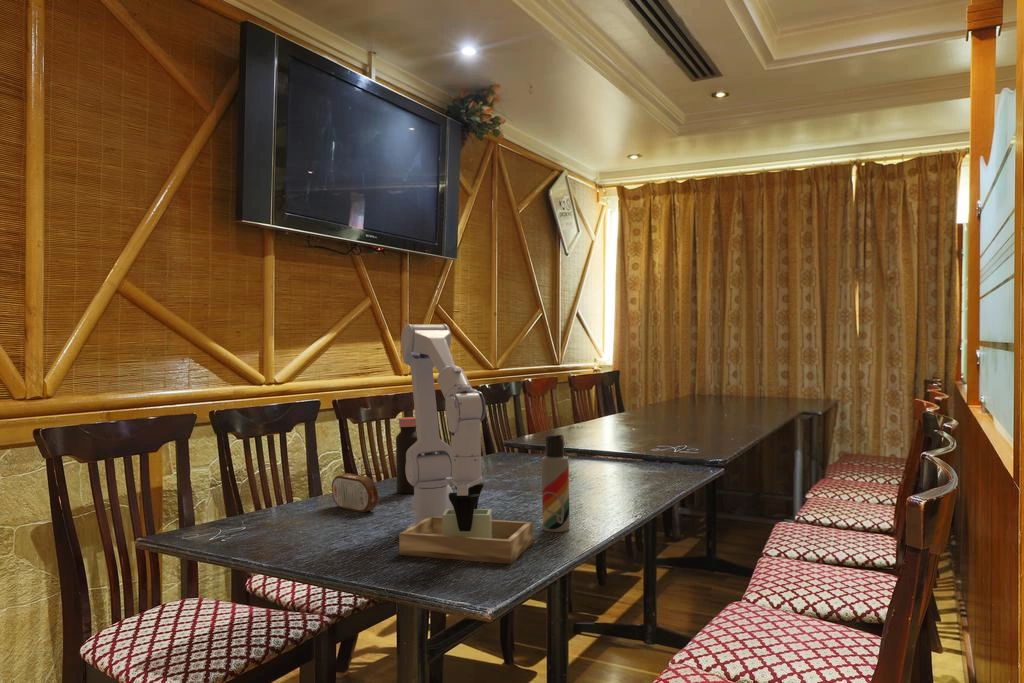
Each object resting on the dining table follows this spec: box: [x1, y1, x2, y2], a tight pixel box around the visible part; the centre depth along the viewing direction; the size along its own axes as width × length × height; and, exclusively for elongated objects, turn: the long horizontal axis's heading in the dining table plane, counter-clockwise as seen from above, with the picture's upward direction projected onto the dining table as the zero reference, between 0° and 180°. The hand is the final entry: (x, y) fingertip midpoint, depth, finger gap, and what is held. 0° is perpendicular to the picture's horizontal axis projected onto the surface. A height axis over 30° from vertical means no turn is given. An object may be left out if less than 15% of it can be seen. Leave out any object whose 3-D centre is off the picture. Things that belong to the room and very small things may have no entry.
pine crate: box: [398, 516, 534, 565], centre depth 134 cm, size 14×22×4 cm, turn 72°
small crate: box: [442, 508, 493, 538], centre depth 134 cm, size 5×9×6 cm, turn 87°
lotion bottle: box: [541, 434, 571, 533], centre depth 147 cm, size 6×6×20 cm
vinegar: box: [395, 416, 422, 495], centre depth 188 cm, size 7×7×20 cm
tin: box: [331, 472, 379, 513], centre depth 168 cm, size 15×3×8 cm, turn 51°
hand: (467, 525), depth 134 cm, fingers open, 7 cm apart
